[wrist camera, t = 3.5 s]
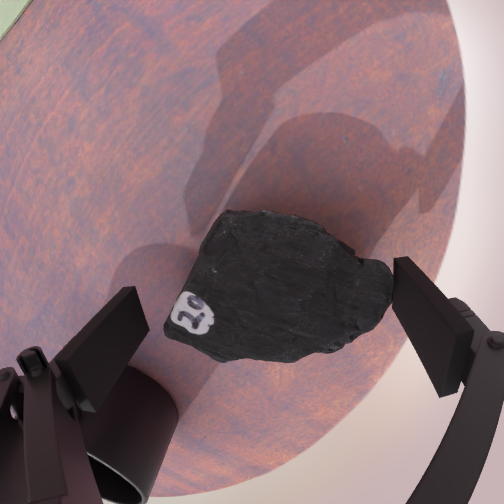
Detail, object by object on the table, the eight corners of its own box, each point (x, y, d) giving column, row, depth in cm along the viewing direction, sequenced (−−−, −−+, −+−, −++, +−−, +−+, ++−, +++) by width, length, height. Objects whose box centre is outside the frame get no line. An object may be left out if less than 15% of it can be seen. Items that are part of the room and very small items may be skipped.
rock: (173, 310, 20) (139, 365, 15) (240, 167, 17) (218, 179, 11) (291, 366, 21) (291, 431, 15) (378, 243, 17) (414, 287, 12)
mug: (158, 339, 21) (103, 432, 13) (188, 439, 25) (162, 517, 17) (62, 327, 22) (-2, 392, 14) (104, 422, 26) (68, 485, 18)
